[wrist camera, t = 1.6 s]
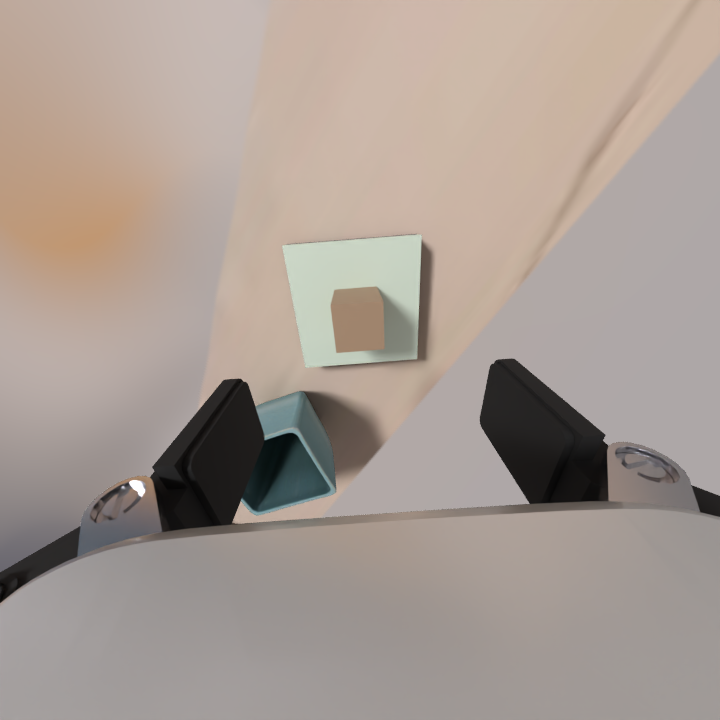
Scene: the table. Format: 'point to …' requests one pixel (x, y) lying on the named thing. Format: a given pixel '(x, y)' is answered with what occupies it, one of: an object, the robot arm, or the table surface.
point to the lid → (356, 299)
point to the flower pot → (290, 457)
